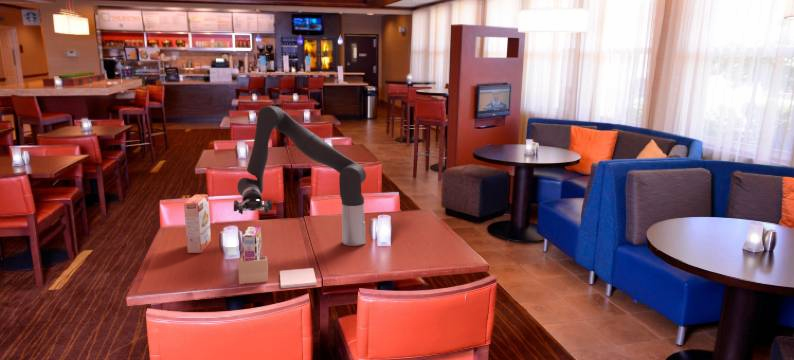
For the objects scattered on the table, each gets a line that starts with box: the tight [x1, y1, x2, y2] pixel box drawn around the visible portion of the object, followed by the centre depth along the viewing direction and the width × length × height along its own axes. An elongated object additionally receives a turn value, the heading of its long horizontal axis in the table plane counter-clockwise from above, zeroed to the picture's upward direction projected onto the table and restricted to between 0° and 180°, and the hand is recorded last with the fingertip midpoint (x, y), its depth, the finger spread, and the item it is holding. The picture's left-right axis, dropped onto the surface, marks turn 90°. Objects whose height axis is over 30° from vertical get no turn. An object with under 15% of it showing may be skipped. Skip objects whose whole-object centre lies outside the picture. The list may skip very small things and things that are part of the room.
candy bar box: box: [241, 226, 263, 261], centre depth 190 cm, size 11×5×16 cm, turn 5°
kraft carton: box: [237, 255, 269, 285], centre depth 193 cm, size 10×19×8 cm, turn 14°
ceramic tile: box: [279, 267, 318, 289], centre depth 188 cm, size 12×13×1 cm
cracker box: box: [183, 194, 212, 254], centre depth 216 cm, size 14×6×21 cm, turn 3°
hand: (253, 211), depth 198 cm, fingers open, 8 cm apart
